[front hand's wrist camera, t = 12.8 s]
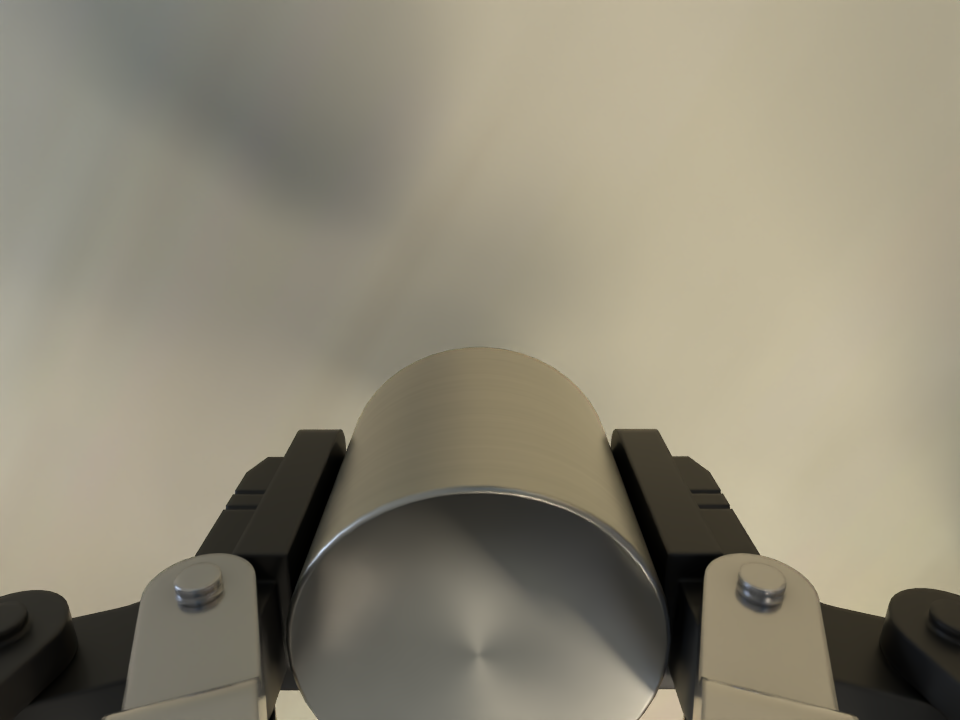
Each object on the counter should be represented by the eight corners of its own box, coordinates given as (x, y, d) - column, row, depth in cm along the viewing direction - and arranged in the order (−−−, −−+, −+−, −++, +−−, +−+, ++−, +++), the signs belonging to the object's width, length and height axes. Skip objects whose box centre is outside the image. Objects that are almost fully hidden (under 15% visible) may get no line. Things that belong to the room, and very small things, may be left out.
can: (369, 577, 13) (319, 799, 9) (331, 356, 12) (247, 503, 7) (609, 562, 13) (669, 779, 9) (605, 334, 12) (678, 472, 7)
